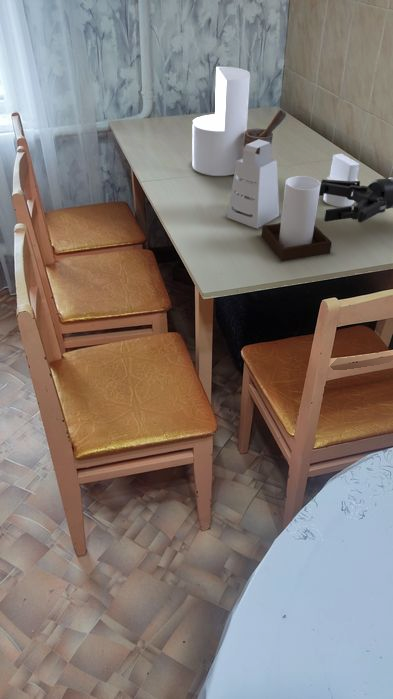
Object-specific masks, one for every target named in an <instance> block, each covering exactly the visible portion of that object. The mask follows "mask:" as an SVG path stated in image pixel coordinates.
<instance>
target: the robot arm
mask: <svg viewBox="0 0 393 699" xmlns="http://www.w3.org/2000/svg"><path fill="white" fill-rule="evenodd" d="M320 184H321V185H320V192H319V197H324V194H330V195H336V196H342V197H347V199H349V200H354V201H355V202H356V204H355V205H354V204H353V207H352V205H350V206H345V207H336V208H330V209H325V212H324V213H325V214H324V219H323V221H324V222H325V223H327V222H333V221H334V222H335V221H340V220H348V219H352V220H357V222H358V223H364V222H366V221H367V220H369V219H370V218H373V217H374V216H376V215H378V214H381V213H385V212H386V210H389V209H393V176H391V177H387V178H378V179H374V180H372V181H371V182H370V184H368V185H367V186H366V185H361V181H360V180H358V181H338V180H327V179H321V181H320ZM352 192H353V196H351V194H352Z"/></svg>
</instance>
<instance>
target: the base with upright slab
mask: <svg viewBox="0 0 393 699" xmlns="http://www.w3.org/2000/svg"><path fill="white" fill-rule="evenodd" d="M359 169H360V163H359V162H357V161H355V160H353V159H352V158H350V157H348V156H347V155H345V154H343V153H337V154H333V155H332V159H331V165H330V172H329V175H327V177H326V180H338V181H359V180H358V175H359ZM351 196H353V192H352V194H351ZM323 202H324V203H326V204H327V205H330V206H333V207H338V208H342V207H349V206H352V205H354V204H355V202H356V201H354V200H349V199H347V197H342V196H336V195H330V194H324V195H323Z"/></svg>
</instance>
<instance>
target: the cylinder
mask: <svg viewBox="0 0 393 699" xmlns="http://www.w3.org/2000/svg"><path fill="white" fill-rule="evenodd" d="M215 70H216V71H215V109H214V113H213V114H211V113H210V114H204V115H201V116H197V117H195V118H194V119H193V120H192V125H191V126H192V127H191V128H192V132H191V133H192V138H191V142H192V145H191V146H192V147H191V148H192V150H191V151H192V153H191V156H192V157H191V160H192V162H191V163H192V167H191V168H192V169H193V170H194V171H196V172H197V173H200V174H202V175H205V176H206V175H207V176H213V177H214V176H215V177H225V176H232V175H234V174H235V169H236V164H237V161H238V160H240V159H242V158H243V150H244V142H245V141H244V139H245V131H246V130H248V115H249V100H250V99H249V98H250V86H251V85H250V83H251V72H250V71H248V70H246V69H244V68H240V67H235V66H220V65H219V66H216V68H215Z"/></svg>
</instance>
